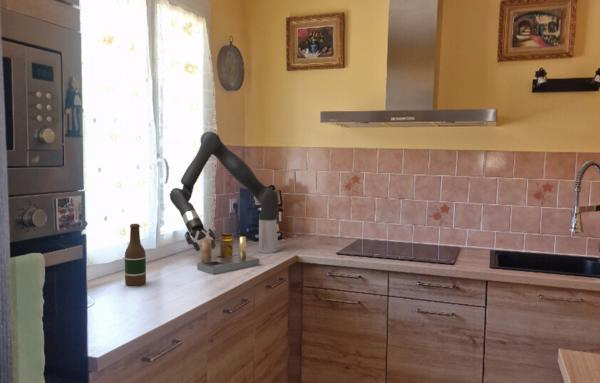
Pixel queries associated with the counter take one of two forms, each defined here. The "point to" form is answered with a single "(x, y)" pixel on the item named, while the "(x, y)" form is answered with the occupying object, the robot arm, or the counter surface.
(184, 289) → the counter surface
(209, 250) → the walnut peg
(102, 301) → the counter surface
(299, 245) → the counter surface
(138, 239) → the beer bottle
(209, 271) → the bolt plate
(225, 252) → the condiment
